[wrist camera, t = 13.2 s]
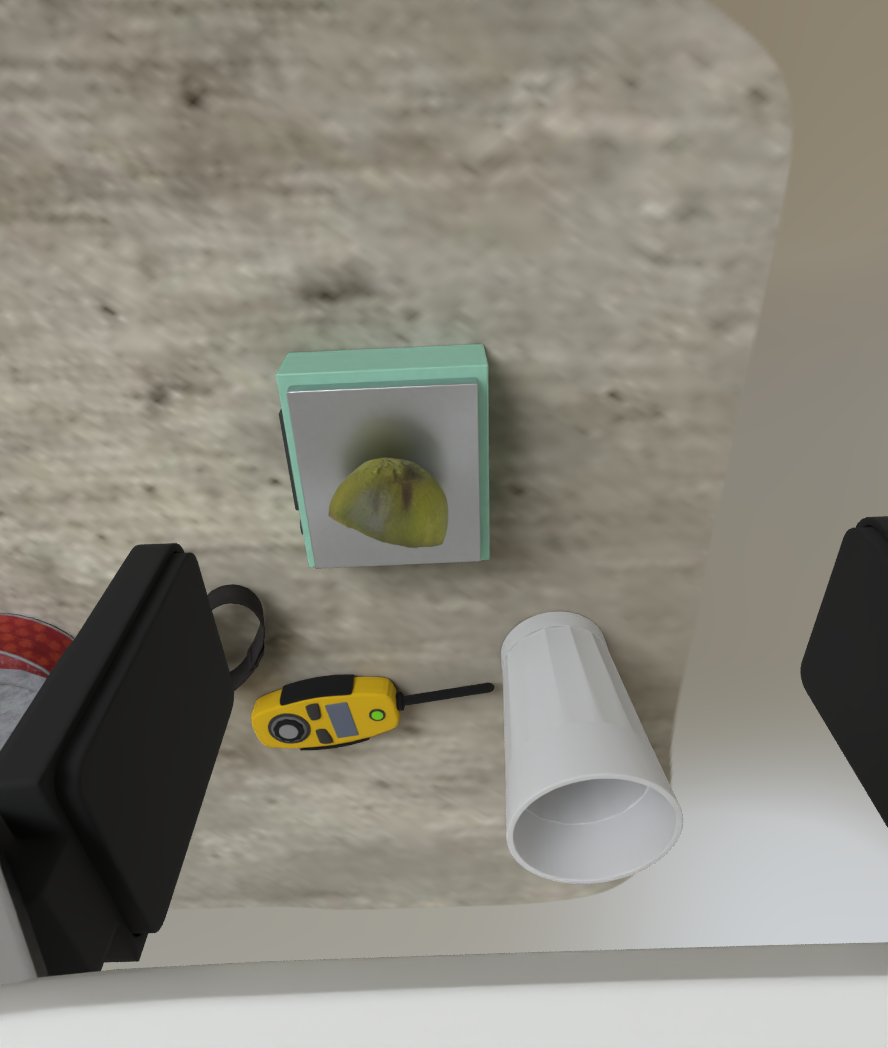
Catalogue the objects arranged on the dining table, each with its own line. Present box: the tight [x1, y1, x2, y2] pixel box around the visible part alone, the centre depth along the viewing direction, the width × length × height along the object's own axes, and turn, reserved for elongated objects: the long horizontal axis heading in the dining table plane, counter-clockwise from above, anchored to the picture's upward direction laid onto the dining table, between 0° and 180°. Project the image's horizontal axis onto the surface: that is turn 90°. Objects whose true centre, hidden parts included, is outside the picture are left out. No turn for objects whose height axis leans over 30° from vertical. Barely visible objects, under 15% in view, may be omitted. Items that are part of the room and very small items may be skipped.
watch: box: [207, 584, 265, 691], centre depth 39 cm, size 8×5×4 cm, turn 157°
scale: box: [276, 344, 490, 568], centre depth 33 cm, size 10×9×3 cm
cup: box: [501, 611, 683, 884], centre depth 36 cm, size 8×8×12 cm
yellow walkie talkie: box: [251, 675, 494, 750], centre depth 42 cm, size 5×2×15 cm
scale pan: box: [286, 377, 481, 569], centre depth 31 cm, size 9×8×1 cm
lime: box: [328, 458, 448, 548], centre depth 29 cm, size 4×5×5 cm
